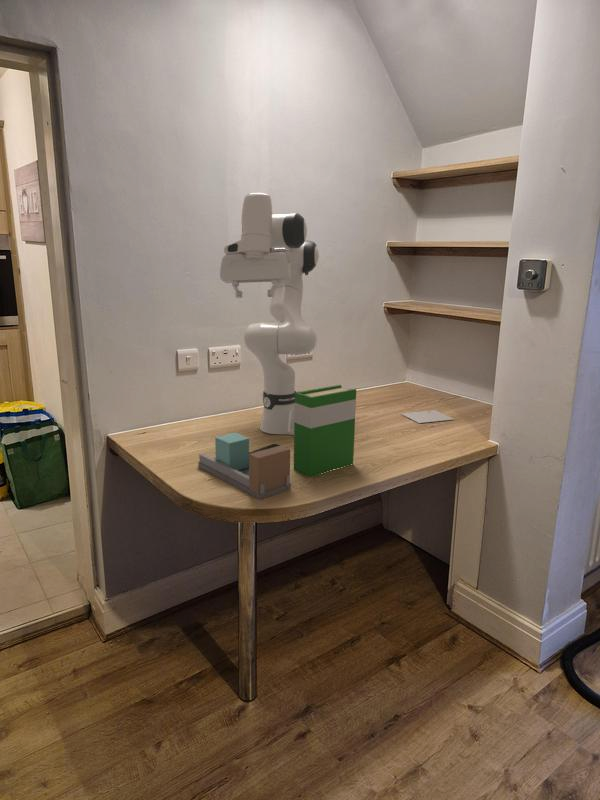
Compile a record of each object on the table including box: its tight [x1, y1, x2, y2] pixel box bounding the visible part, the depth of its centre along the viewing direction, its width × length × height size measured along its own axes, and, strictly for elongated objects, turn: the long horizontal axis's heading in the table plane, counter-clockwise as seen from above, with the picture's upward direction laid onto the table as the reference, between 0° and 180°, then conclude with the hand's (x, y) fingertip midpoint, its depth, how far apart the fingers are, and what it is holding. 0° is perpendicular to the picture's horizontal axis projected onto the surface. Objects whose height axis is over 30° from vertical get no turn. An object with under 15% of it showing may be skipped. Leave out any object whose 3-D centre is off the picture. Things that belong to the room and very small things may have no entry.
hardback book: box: [293, 384, 357, 478], centre depth 172 cm, size 18×7×24 cm, turn 129°
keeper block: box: [214, 432, 250, 471], centre depth 168 cm, size 7×7×9 cm
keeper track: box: [197, 444, 292, 500], centre depth 165 cm, size 11×30×12 cm, turn 42°
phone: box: [249, 443, 291, 454], centre depth 186 cm, size 8×1×15 cm
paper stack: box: [400, 409, 454, 424], centre depth 225 cm, size 23×25×1 cm
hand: (254, 297), depth 163 cm, fingers open, 8 cm apart
